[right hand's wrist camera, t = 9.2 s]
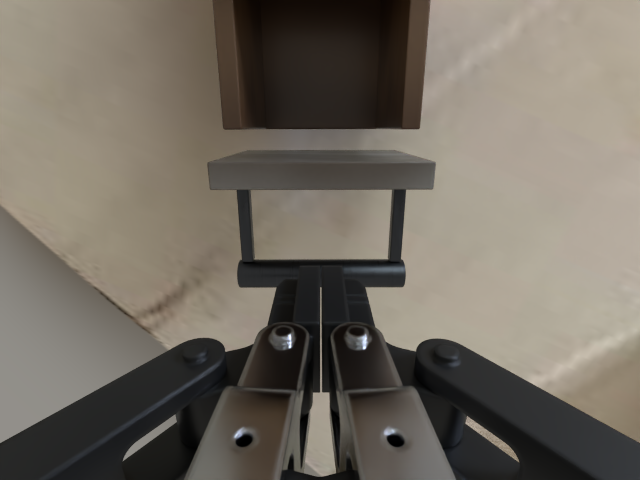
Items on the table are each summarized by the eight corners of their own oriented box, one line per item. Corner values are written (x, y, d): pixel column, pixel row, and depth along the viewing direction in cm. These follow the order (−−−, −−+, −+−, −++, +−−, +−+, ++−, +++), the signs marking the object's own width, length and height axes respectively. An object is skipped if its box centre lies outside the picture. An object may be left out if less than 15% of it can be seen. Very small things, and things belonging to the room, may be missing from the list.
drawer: (388, 248, 25) (422, 305, 17) (252, 248, 25) (221, 306, 17) (413, -137, 19) (486, -343, 10) (227, -137, 19) (156, -343, 10)
